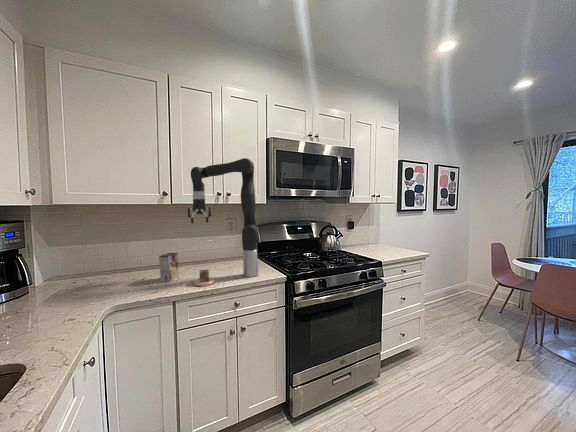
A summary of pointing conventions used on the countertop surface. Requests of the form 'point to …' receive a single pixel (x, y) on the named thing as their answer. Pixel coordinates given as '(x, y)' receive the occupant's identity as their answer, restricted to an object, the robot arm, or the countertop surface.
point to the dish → (203, 284)
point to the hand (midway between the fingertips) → (199, 223)
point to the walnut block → (204, 275)
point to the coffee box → (168, 267)
